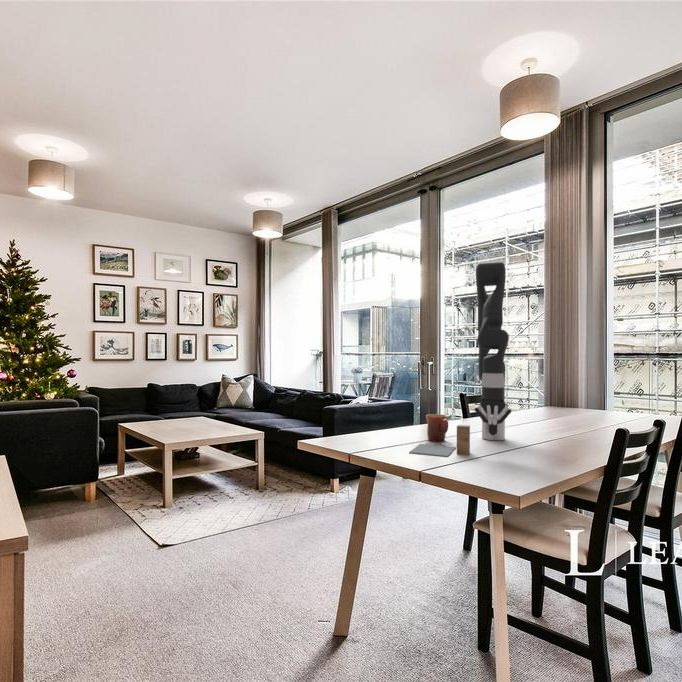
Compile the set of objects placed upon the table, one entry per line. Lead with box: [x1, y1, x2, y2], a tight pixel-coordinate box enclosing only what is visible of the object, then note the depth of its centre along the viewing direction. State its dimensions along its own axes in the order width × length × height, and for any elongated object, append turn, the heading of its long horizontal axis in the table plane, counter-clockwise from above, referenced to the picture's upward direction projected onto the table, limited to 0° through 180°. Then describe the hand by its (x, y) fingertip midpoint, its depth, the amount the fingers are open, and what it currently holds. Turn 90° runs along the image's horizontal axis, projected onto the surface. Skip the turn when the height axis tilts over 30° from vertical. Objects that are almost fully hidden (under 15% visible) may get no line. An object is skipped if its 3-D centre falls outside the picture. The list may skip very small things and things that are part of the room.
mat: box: [408, 443, 457, 458], centre depth 173 cm, size 16×14×1 cm
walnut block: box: [456, 424, 471, 456], centre depth 169 cm, size 4×4×10 cm
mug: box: [425, 413, 449, 443], centre depth 191 cm, size 12×9×10 cm
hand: (492, 434), depth 165 cm, fingers closed
